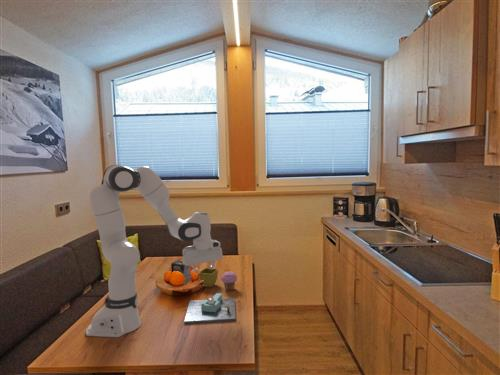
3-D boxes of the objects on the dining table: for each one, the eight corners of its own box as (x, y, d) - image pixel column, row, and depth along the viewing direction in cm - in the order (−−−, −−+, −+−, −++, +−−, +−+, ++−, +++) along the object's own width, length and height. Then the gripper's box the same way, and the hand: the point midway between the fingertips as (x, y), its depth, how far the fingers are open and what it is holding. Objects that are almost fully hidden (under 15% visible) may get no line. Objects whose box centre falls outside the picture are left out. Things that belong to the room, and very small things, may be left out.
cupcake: (222, 293, 178) (222, 275, 178) (220, 287, 187) (220, 270, 186) (238, 291, 180) (238, 273, 179) (236, 285, 189) (235, 268, 188)
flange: (215, 312, 153) (214, 305, 152) (201, 310, 155) (201, 304, 154) (225, 299, 166) (225, 293, 166) (213, 298, 168) (213, 292, 168)
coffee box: (171, 291, 183) (170, 263, 182) (179, 287, 189) (178, 259, 187) (184, 293, 179) (183, 265, 177) (191, 289, 184) (190, 261, 183)
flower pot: (212, 289, 184) (211, 273, 183) (198, 287, 187) (198, 272, 186) (218, 283, 192) (218, 268, 192) (205, 282, 195) (205, 267, 194)
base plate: (184, 323, 145) (183, 310, 145) (189, 302, 167) (189, 291, 167) (235, 321, 147) (235, 307, 146) (234, 300, 169) (234, 288, 168)
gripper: (184, 248, 155) (185, 276, 156) (223, 242, 164) (224, 269, 166) (180, 245, 160) (181, 273, 161) (218, 239, 170) (219, 265, 171)
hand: (203, 271), depth 163 cm, fingers open, 7 cm apart
